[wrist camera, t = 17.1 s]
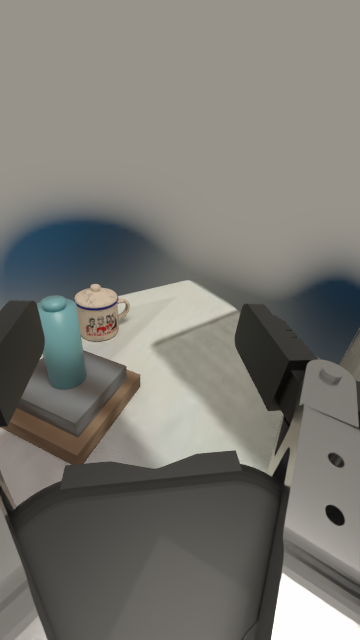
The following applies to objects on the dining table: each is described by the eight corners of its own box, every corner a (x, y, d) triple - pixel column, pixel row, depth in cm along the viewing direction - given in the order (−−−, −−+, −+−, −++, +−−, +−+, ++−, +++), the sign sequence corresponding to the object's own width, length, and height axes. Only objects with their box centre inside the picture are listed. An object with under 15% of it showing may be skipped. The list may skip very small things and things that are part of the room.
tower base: (69, 359, 51) (64, 334, 48) (140, 386, 47) (140, 361, 43) (-8, 422, 38) (-22, 394, 35) (79, 468, 34) (73, 441, 31)
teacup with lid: (84, 347, 55) (78, 298, 48) (74, 325, 61) (67, 280, 55) (137, 333, 60) (137, 288, 54) (122, 315, 67) (121, 273, 61)
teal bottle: (66, 361, 42) (51, 288, 35) (93, 370, 41) (83, 296, 34) (41, 382, 38) (19, 304, 31) (71, 393, 36) (55, 313, 30)
